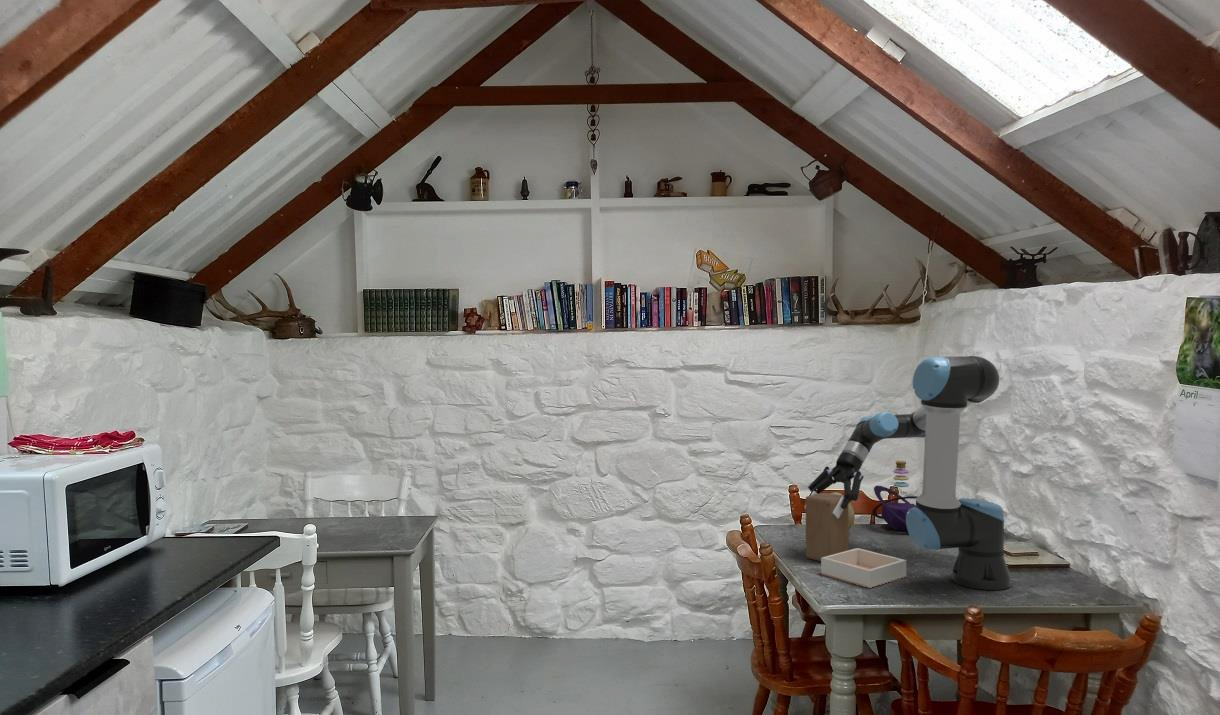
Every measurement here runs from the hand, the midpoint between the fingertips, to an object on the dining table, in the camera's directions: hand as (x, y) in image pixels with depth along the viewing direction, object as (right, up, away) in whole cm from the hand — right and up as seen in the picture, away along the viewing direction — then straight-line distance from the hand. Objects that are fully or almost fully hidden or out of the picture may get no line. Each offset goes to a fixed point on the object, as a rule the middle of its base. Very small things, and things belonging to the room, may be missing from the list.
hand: (820, 512), depth 242 cm
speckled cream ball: (+14, -14, +32) cm, 38 cm away
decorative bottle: (+40, -14, +38) cm, 57 cm away
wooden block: (+3, -15, +2) cm, 16 cm away
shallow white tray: (+8, -15, -16) cm, 24 cm away
